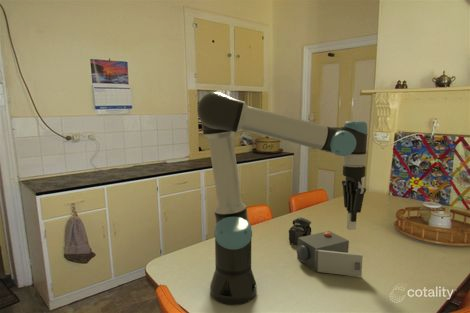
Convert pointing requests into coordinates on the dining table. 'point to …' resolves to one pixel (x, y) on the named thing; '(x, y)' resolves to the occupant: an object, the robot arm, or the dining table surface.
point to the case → (319, 246)
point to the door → (338, 263)
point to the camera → (299, 230)
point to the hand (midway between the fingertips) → (351, 228)
